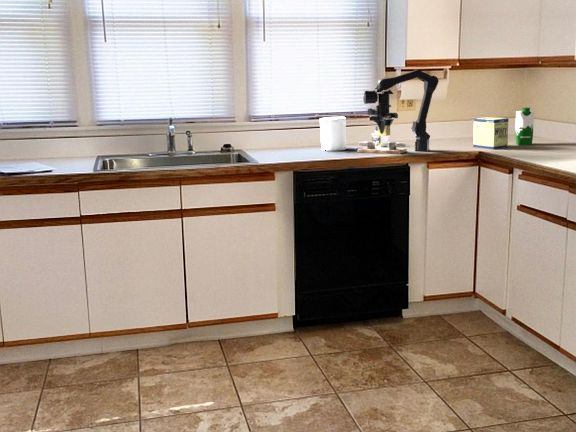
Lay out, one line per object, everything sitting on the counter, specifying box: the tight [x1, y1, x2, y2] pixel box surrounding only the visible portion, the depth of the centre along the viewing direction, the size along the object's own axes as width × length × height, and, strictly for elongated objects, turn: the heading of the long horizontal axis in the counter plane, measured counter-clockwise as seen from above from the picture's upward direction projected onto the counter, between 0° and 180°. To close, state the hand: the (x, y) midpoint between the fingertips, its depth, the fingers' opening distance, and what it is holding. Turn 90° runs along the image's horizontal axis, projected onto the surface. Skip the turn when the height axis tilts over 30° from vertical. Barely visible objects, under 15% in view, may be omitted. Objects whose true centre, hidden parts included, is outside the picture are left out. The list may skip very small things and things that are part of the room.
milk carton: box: [514, 107, 535, 146], centre depth 371 cm, size 9×9×20 cm
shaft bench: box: [356, 140, 408, 155], centre depth 364 cm, size 26×10×5 cm, turn 59°
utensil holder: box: [319, 116, 347, 152], centre depth 382 cm, size 15×15×18 cm
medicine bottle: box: [371, 124, 390, 148], centre depth 389 cm, size 7×7×12 cm
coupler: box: [378, 125, 391, 136], centre depth 359 cm, size 4×5×5 cm
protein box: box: [472, 116, 509, 150], centre depth 365 cm, size 10×16×16 cm
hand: (383, 133), depth 360 cm, fingers closed on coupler, 4 cm apart
